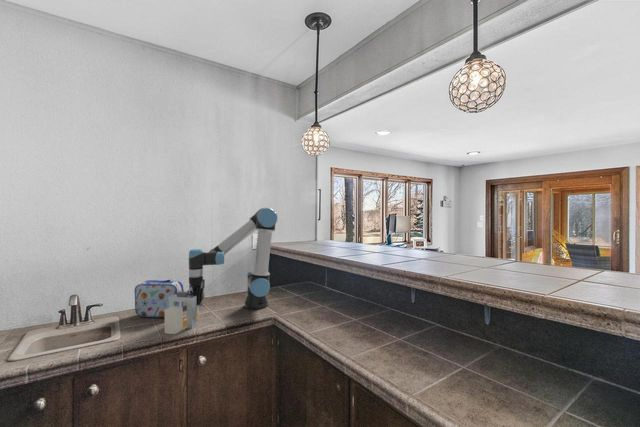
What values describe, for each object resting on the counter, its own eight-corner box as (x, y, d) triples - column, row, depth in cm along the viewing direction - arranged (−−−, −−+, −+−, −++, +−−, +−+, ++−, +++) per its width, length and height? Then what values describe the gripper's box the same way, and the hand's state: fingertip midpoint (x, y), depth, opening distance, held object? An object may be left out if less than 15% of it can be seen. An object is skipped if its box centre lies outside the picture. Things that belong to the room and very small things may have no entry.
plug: (191, 318, 173) (190, 298, 173) (200, 319, 172) (200, 298, 172) (164, 333, 153) (164, 309, 153) (174, 334, 151) (174, 310, 151)
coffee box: (197, 306, 195) (197, 282, 195) (188, 306, 196) (188, 281, 196) (205, 302, 204) (205, 279, 204) (196, 302, 205) (196, 278, 205)
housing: (196, 326, 162) (196, 292, 162) (191, 328, 158) (191, 294, 158) (173, 324, 165) (173, 290, 165) (168, 326, 161) (168, 292, 161)
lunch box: (187, 312, 183) (187, 277, 183) (179, 318, 173) (179, 281, 173) (142, 312, 184) (142, 277, 184) (132, 318, 173) (132, 280, 173)
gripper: (197, 273, 180) (197, 312, 180) (182, 278, 168) (182, 320, 168) (208, 274, 179) (208, 313, 179) (194, 278, 166) (194, 321, 166)
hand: (196, 316), depth 173 cm, fingers closed
